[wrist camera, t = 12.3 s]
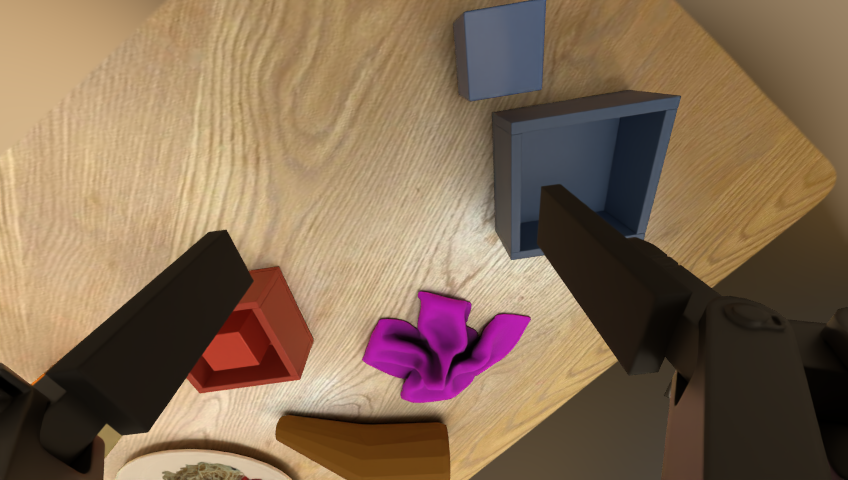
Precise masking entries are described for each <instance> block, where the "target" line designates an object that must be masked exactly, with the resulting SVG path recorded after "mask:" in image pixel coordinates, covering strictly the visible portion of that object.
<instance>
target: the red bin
mask: <svg viewBox="0 0 848 480" xmlns="http://www.w3.org/2000/svg"><path fill="white" fill-rule="evenodd" d="M249 273H250V275H251V276H252V278H253V280H254V282H253V283H252V285H251V286H250V287H249V289H248V290H247V292H246V293H245V295H244V296H243V297H242V299H241V300H240V302H239V303H238V305H237V306H236V307H235V309H234V310H233V311H238V310H245V309H252V310H253V312H254V313H255V315H256V317H257V319H258V320H259V322H260V324H261V325H262V327H263V329H264V331H265V332H266V334H267V336H268V337H269V339H270V341H271V342H270V344H269V346H268V348H267V350H266V352H265V354H264V356H263V358H262V360H261V363H260V364H259V365H254V366H247V367H239V368H232V369H225V370H218V371H214V370H213V369H212V367H211V366H210V365H209V364H208V362H207V361H206V360H205V358H204V357H203V356H201V357H200V359H199V360H198V362H197V363H196V365H195V366H194V367H193V369H192V370H191V372H190V373H189V375H188V376H187V377H186V378H187V379H188V380H189V382H190V383H191V384H192V385H193V386H194V387H195V389H196V390H197V391H198V392H199V393H206V392H213V391H220V390H228V389H235V388H242V387H250V386H257V385H264V384H272V383H279V382H286V381H294V380H300V379H301V376H302V373H303V370H304V367H305V364H306V361H307V358H308V355H309V352H310V349H311V346H312V344H313V341H314V340H313V338H312V336H311V333H310V331H309V329H308V327H307V325H306V323H305V321H304V319H303V317H302V315H301V312H300V310H299V308H298V306H297V304H296V302H295V300H294V298H293V296H292V294H291V291H290V289H289V287H288V285H287V283H286V281H285V279H284V277H283V275H282V273H281V270H280V268H279V267H271V268H265V269H258V270H251V271H249Z"/></svg>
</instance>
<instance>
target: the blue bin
mask: <svg viewBox="0 0 848 480" xmlns="http://www.w3.org/2000/svg"><path fill="white" fill-rule="evenodd" d="M680 98H681V96H678V95H669V94H660V93H651V92H642V91H633V90H626V91H620V92H614V93H608V94H602V95H596V96H589V97H583V98H577V99H571V100H565V101H559V102H552V103H546V104H540V105H534V106H528V107H522V108H515V109H509V110H503V111H497V112H492V132H493V166H494V200H495V231H496V232H497V234H498V236H499V238H500V240H501V242H502V244H503V245H504V247H505V249H506V251H507V253H508V255H509V257H510V259H511V260H515V259H522V258H529V257H536V256H543V255H544V253H543V252H542V250H541V249H540V247H539V246H538V245H537V236H538V223H539V209H540V196H541V186H548V185H555V184H561V185H562V186H564V187H565V188H566V189H567V190H568V191H570V192H571V193H572V194H573V195H575V196H576V197H577V198H578V199H579V200H581V201H582V202H583V203H584V204H586V205H587V206H588V207H589V208H590V209H592V210H593V211H594V212H595V213H597V214H598V215H599V216H600V217H601V218H603V219H604V220H605V221H606V222H608V223H609V224H610V225H611V226H612V227H614V228H615V229H616V230H617V231H619V232H620V233H621V234H622V235H623V236H625V237H626V238H633V237H637V238H639V239H642V240H644V237H645V232H646V229H647V225H648V221H649V217H650V213H651V209H652V206H653V202H654V198H655V194H656V190H657V186H658V182H659V178H660V175H661V171H662V167H663V163H664V159H665V155H666V151H667V148H668V144H669V140H670V136H671V132H672V128H673V124H674V121H675V117H676V113H677V108H678V106H679V102H680Z"/></svg>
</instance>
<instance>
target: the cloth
mask: <svg viewBox="0 0 848 480" xmlns="http://www.w3.org/2000/svg"><path fill="white" fill-rule="evenodd" d="M418 298H419V299H420V300H421V309H420V314H419V318H418V325H417V329H416V328H414V327H413V326H412V325H411V324H410V323H408V322H405V321H402V320H398V319H381V320H379V322H378V324H377V325H376V327H375V329H374V331H373V333H372V335H371V337H370V340H369V343H368V346H367V348H366V351H365V355H364V357H363V359H362V360H363V361H364V362H365V363H367V364H368V365H370V366H372V367H374V368H376V369H378V370H380V371H383V372H385V373H387V374H389V375H392V376H395V377H398V378H404V379H406V381H405V383H404V384H403V388H402V389H403V390H402V392H401V398H402V399H404V400H407V401H410V402H413V403H424V402H434V401H441V400H448V399H451V398H453V397H456V396H457V395H458V394H459V393H460V392H461V391H463V390H464V389H465V388H466V387H468V386H469V385H470V383H471V382H472V381H473V379H474V377H475V376H477V375H479V374H480V373H482V372H483V371H485V370H486V369H488V368H489V367H491V366H492V365H493V364H495V363H496V362H498V361H500V360H501V359H503V358H504V357H505V356H506V355H507V354H508V353H509V352H510V351H511V350H512V349H513V348H514V346H515V345H516V344H517V342H518V341H519V339H520V337H521V336H522V334H523V332H524V330H525V329H526V327H527V325H528V323H529V322H530V320H531V319H530V317H527V316H521V315H514V314H499V315H497V316H495V318H494V319H493V320H492V321H491V322H490V323H489V324H488V325H487V326H486V328H485V329H484V330H483V333H482V335H481V337H479V336H478V334H477V332H476V331H475V330H474V329H472V328H470V327H468V326H466V322H467V320H468V316H469V313H470V311H471V303H470V302H466V301H464V300H456V299H451V298H447V297H443V296H440V295H436V294H432V293H428V292H422V291H420V292H419V293H418Z"/></svg>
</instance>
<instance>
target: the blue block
mask: <svg viewBox="0 0 848 480" xmlns="http://www.w3.org/2000/svg"><path fill="white" fill-rule="evenodd" d="M545 13H546V0H529V1H523V2H518V3H512V4H506V5H500V6H494V7H489V8H483V9H477V10H471V11H466V12H464V13H463V14H462V15H461V16H459V17H458V18H457V19H456V20H455V21H454V22H453V29H454V42H455V55H456V67H457V80H458V93H459V95H460V96H461V97H463V98H465V99H467V100H468V101H476V100H482V99H488V98H495V97H501V96H507V95H513V94H519V93H525V92H531V91H537V90H541V89H542V77H543V56H544V35H545Z"/></svg>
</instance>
